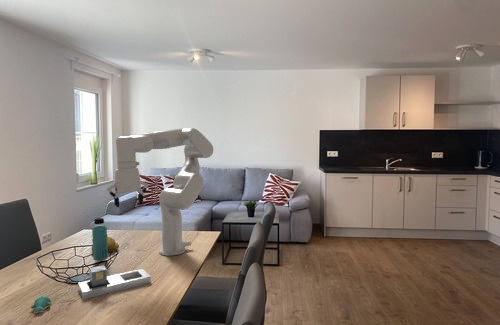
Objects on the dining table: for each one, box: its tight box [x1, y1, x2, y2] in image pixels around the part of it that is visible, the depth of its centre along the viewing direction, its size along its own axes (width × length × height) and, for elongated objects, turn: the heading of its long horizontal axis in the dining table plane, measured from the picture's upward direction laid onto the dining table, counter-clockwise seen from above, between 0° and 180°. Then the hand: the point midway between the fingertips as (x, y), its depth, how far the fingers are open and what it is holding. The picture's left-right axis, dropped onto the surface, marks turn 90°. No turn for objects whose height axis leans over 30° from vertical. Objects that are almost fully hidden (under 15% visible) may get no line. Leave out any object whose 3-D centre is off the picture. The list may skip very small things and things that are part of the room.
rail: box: [77, 268, 152, 300], centre depth 130 cm, size 24×10×2 cm, turn 125°
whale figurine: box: [30, 295, 52, 314], centre depth 113 cm, size 6×7×4 cm
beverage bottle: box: [91, 217, 109, 262], centre depth 156 cm, size 6×7×20 cm
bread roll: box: [91, 236, 120, 253], centre depth 171 cm, size 13×10×8 cm
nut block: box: [89, 264, 108, 289], centre depth 127 cm, size 5×5×8 cm
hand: (129, 205), depth 148 cm, fingers open, 9 cm apart
